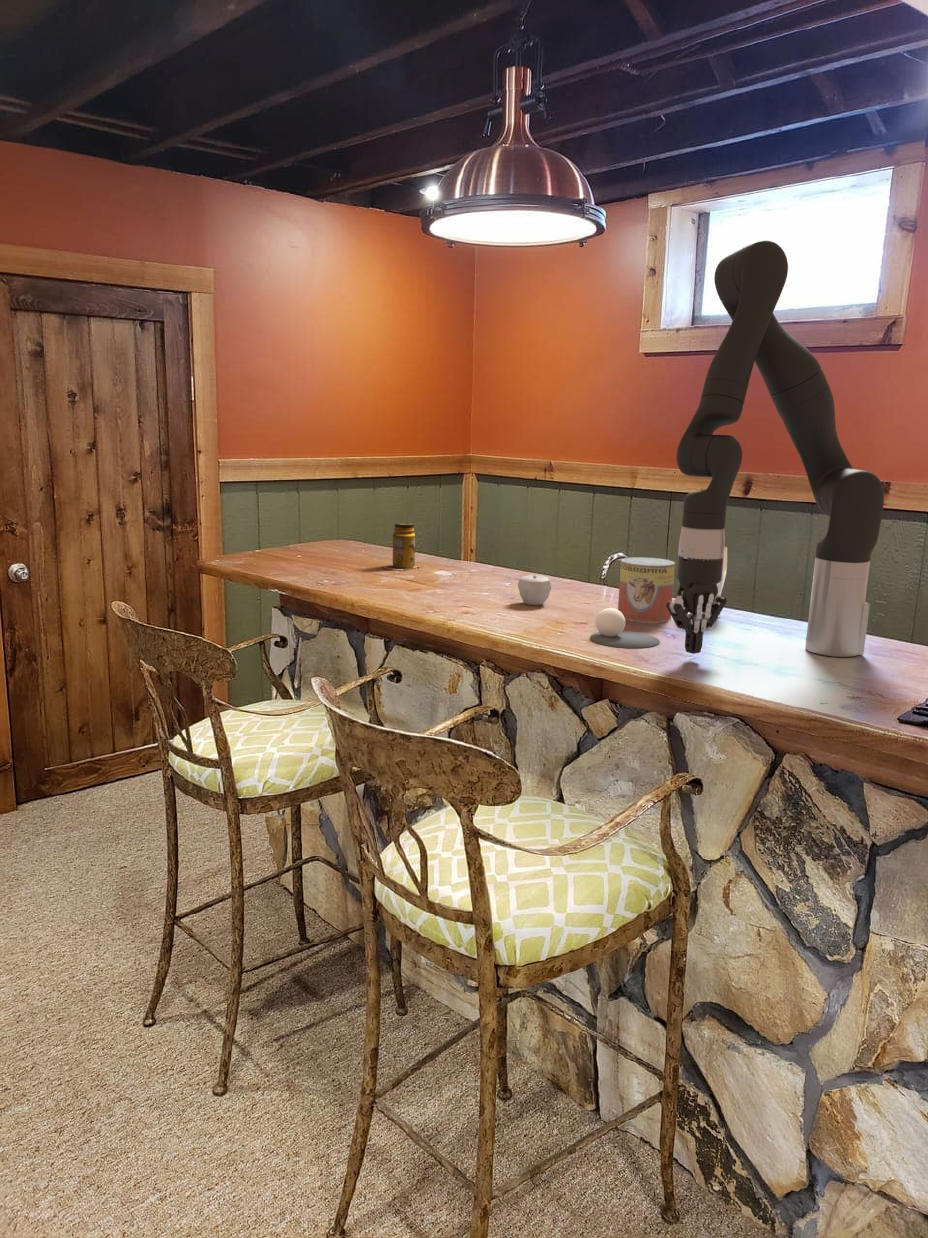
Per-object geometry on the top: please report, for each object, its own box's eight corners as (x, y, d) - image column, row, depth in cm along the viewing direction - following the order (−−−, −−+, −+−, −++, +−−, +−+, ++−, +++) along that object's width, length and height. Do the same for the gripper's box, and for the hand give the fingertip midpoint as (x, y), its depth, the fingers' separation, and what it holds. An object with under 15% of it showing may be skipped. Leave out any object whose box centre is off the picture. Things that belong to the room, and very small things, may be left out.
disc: (649, 632, 180) (649, 631, 180) (667, 648, 167) (667, 647, 167) (584, 631, 179) (584, 630, 179) (597, 648, 167) (597, 646, 167)
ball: (634, 627, 175) (613, 619, 180) (626, 605, 172) (604, 599, 176) (616, 646, 173) (595, 638, 178) (607, 625, 170) (586, 617, 174)
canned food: (612, 619, 191) (616, 562, 188) (622, 609, 201) (625, 555, 198) (667, 625, 187) (671, 567, 184) (674, 614, 197) (678, 559, 195)
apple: (510, 601, 207) (511, 572, 205) (541, 599, 209) (543, 571, 208) (524, 608, 199) (526, 579, 198) (557, 606, 202) (558, 577, 201)
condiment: (421, 568, 249) (422, 524, 246) (397, 571, 243) (398, 526, 240) (404, 564, 254) (404, 521, 251) (380, 567, 248) (380, 523, 245)
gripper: (710, 548, 162) (702, 643, 166) (657, 553, 155) (649, 652, 159) (744, 554, 156) (735, 652, 160) (690, 559, 149) (682, 662, 153)
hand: (692, 652), depth 159 cm, fingers closed
